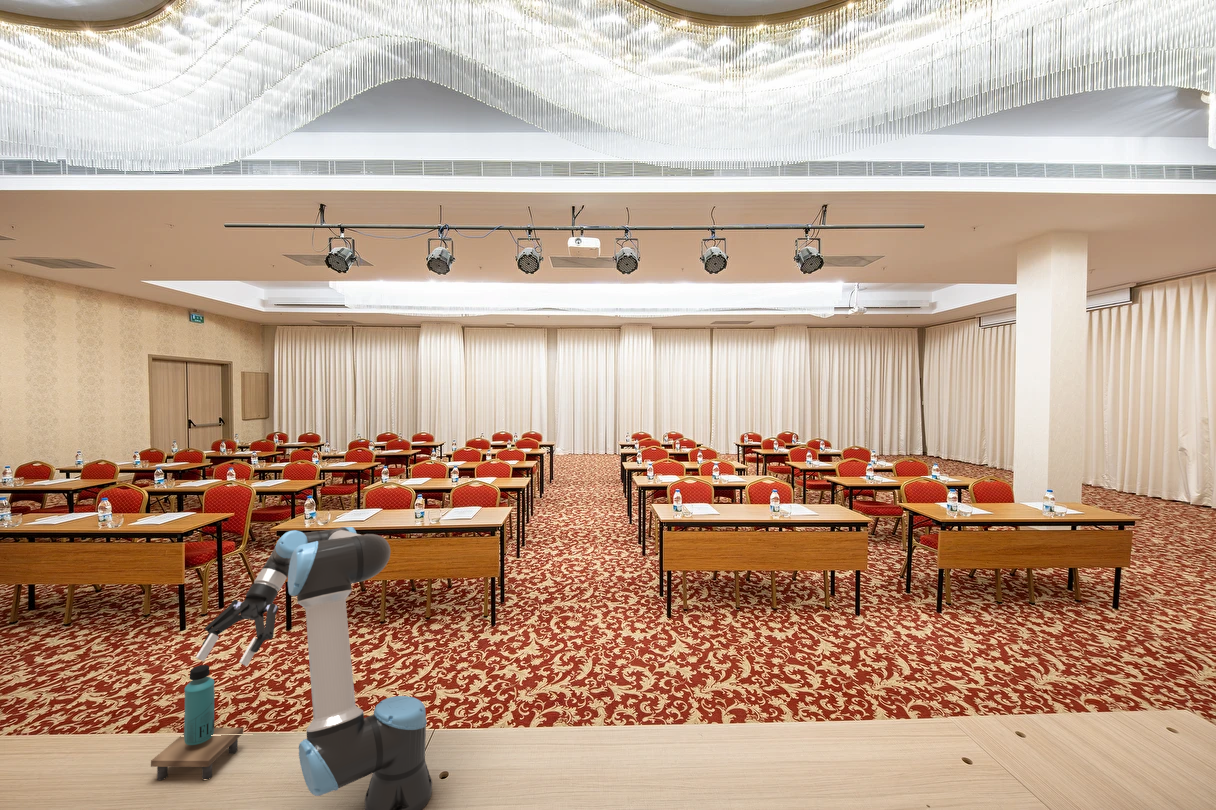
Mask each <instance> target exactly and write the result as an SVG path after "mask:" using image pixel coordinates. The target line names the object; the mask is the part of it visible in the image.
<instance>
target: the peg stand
mask: <svg viewBox="0 0 1216 810" xmlns="http://www.w3.org/2000/svg"><path fill="white" fill-rule="evenodd" d="M214 728H215V729H214V731H215V732H214V734H242V735H243V734H244V727H214ZM182 735H184V733H183V734H182ZM242 735H221V736H212V737H211V738H210V739H209V740H207V741H205V742H203V743H200V744H197V745H187V744H186V743H185V741H184V737H181V735H180V736H179V737H177V738H176V740H173V742H172V743H171V744H169V745H168V746H167V747H166V748H164V749H162V751H160V752H159V753H158V754H157V755H156V756H155V757H153V758H152V759H151V760H150V767H152V768H155V767H156V769H157V770H156V773H157V774H156V776H157V777H156V781H163V780H165V779H166V777H167V778H168V775H169V773H168V771H169V770H168V769H169V767H171V768H175V767H176V768H179V767H180V768H182V767H183V768H184V767H187V768H192V767H193V768H194V767H196V768H197V767H198V768H200V767H201V779H202V778H203V779H208V780H210V779H211V778H212V777H213V763H214V762H215V761H216V760H217V759H218V758H219V757H221V755H222V754H223V753H225V752H226V751H227V749H228V755H234V754H236V753H237V752H238V748H239V747H238V746H239V745H238V744H239V742H238V741H239V738H240V737H241V736H242ZM164 778H165V779H164ZM209 778H210V779H209Z"/></svg>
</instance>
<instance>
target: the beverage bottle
mask: <svg viewBox="0 0 1216 810" xmlns="http://www.w3.org/2000/svg"><path fill="white" fill-rule="evenodd" d="M189 673H190V674H189V680H191V681H190V682H188V683H187V685H185V687H184V716H183V717H184V718H183V734H184V741H185V743H186V744H187V745H197V744H200V743H203V742H205V741H207V740H209V739H210V738H211V737H212V736H211V735H213V734H214V732H215V731H214V729H215V728H216V727H215V726H216V723H215V713H216V710H215V704H216V703H215V697H216V695H215V694H216V692H215V684H216V683H215V680H214V678H212V677H209V676H210V666H209V665H208V664H201V665H196V666H194V667H193V668H192V669H190V672H189Z"/></svg>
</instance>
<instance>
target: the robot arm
mask: <svg viewBox="0 0 1216 810" xmlns="http://www.w3.org/2000/svg"><path fill="white" fill-rule="evenodd" d="M391 551H392V550H391V545H390V544H389V542H388V541H387V539H386V538H384V537H383V536H381V535H378V534H374V533H366V534H360V533H357V531H356V529H355V527H352V526H348V527H347V526H345V527H344V526H341V527H339V528H332V529H326V530H325V529H324V530H318V531H317V530H315V531H311V532H303V531H300V530H295V529H294V530H289V531H286V532H285V533H284V534H283V535H281V537H280V538H279V539H278V540H277V542H276V544H275V547H274V548H273V550H272V552H271V554H270V555H269V557H268V559H267V560H266V562H265V564H264V566H263V567H262V568H261V569H260V571H259V573H258V574H257V576H256V578H255V579H254V581H253V584H251V586H250V587H249V589H248V590H247V592H246V593H245V599H244V600H243V601H242V602H241V601H239V600H237V599H234V600H233V601H232V602H231V603H230V604H229V605H228V607H227V608H226V609H224V610H223V611H222V612H221V613H220V614H218V616H216V617H215V618H214V619H213V620H212V621H211V622H210V623H209V624H208V625H206V626H205V627H204V630H205V631H206V632H208V634H207V636H206V637H205V638H204V640H203V642H202V644H201V645H202V647H200V650H199V651H198V652H197V654H196V656H195V658H196V659H198V660H200V661H202V662H204V661H206V659H207V657H208V655H209V654H210V653H211V651H212V649H213V648H214V646H215V645H216V643H217V641H218V639H220V637H219V635H220V634H222V633H223V632H224V631H226V630H227V629H229V628H230V627H232V626H233V625H234V624H237V622H239V621H243V620H251V621H254V627H255V633H256V635H255V637H253V638H252V639H251V641H250V643H249V644H248V646H247V648H246V649H245V651H244V653H243V655H242V656H241V658H240V660H239V664H242V665H243V666H244V667H248V665H250V662H251V660H252V658H253V657H254V655H255V654H257V653H258V652H259V651H260V648H261V646H262V645H263V643H264V642H265V641H267V640H270V641H271V640H272V639H273V638H274V634H275V627H276V626H275V625H276V624H275V623H276V615H277V612H278V611H279V606H277V604H275V603H274V601H275V599H276V598H277V595H278V593H279V591H280V590H281V589H282V587H283V586H284V583H285V582H286V580H287V588H288V594H289V596H291V597H295V596H296V599H297V605H300V606H302V607H303V608H304V610H305V618H306V619H305V621H306V631H307V632H306V634H307V647H308V660H309V676H310V686H311V687H310V688H311V702H312V716H313V717H312V718H313V719H312V720H311V722H310V723H309V725H308V726H307V728H306V730H305V731H306V738H304V739H303V740H302V741H300V742H299V743H298V744H299V745H298V758H299V764H300V768H301V772H302V775H303V779H304V782H305V786H306V787H307V789H308V791H309V792H310V794H312V795H313V796H316V797H319V796H320V797H321V796H323V795H326V794H328V793H331V792H333V791H335V792H336V791H338V790H339V789H340V788H342V787H345V786H347V785H350V784H351V783H353V782H355V781H358V780H360V779H362V778H365V777H367V776H369V775H372V776H371V778H370V781H369V784H368V787H367V790H366V794H365V796H364V810H421V809H422V810H423V809H424V808H425V807H426V806H427V805H428V803H429V802H430V800H429V799H431V798H430V797H432V793H433V781H432V777H431V775H430V771H429V768H428V765H427V763H426V740H427V739H426V735H427V724H428V721H427V720H428V719H427V718H426V717H427V716H426V715H427V714H426V706H425V704H424V703H423V702H422V701H421V700H420V699H418V698H416V697H413V696H408V695H396V696H390V697H387V698H385V699H382V700H381V701H380V702H379V703H377V704H376V705H375V706H374V707H375V708H374V710H373V714H371V715H368V716H366V717H365V714H364V710H363V709H361V708H360V707H358V706H357V705H356V698H355V697H356V696H355V686H354V677H353V674H354V673H353V665H352V656H351V655H352V654H351V643H350V634H349V633H350V632H349V625H348V624H349V623H348V622H349V621H348V613H347V612H348V611H347V602H346V600H347V598H348V597H349V596H350V594H351V593H352V584H355V583H361V582H364V581H365V582H366V581H367V580H369V579H372V578H373V577H376V576H377V575H378V574H380V573H381V572H382V571H383V570H384V569H385V567H386V566H387V565H388V562H389V561H390V558H391V554H392V553H391ZM265 613H266V618H265V615H264V614H265ZM264 620H265V622H264ZM428 801H429V802H428ZM426 804H427V805H426Z"/></svg>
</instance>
